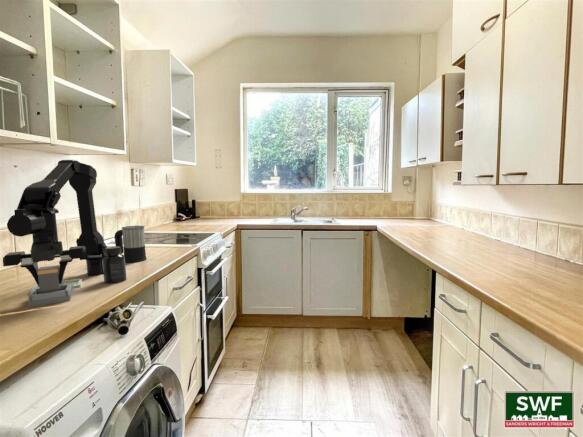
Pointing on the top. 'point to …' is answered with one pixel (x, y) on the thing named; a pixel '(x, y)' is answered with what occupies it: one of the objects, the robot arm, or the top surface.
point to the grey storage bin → (50, 295)
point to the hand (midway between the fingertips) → (50, 285)
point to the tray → (76, 282)
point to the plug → (48, 278)
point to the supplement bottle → (114, 265)
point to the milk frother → (132, 243)
